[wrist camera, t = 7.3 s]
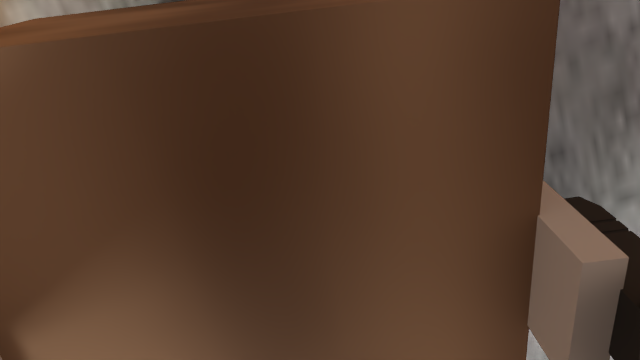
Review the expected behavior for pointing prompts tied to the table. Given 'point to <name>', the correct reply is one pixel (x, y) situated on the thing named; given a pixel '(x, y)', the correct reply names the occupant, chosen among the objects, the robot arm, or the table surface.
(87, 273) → the lid
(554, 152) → the table surface
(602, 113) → the table surface
